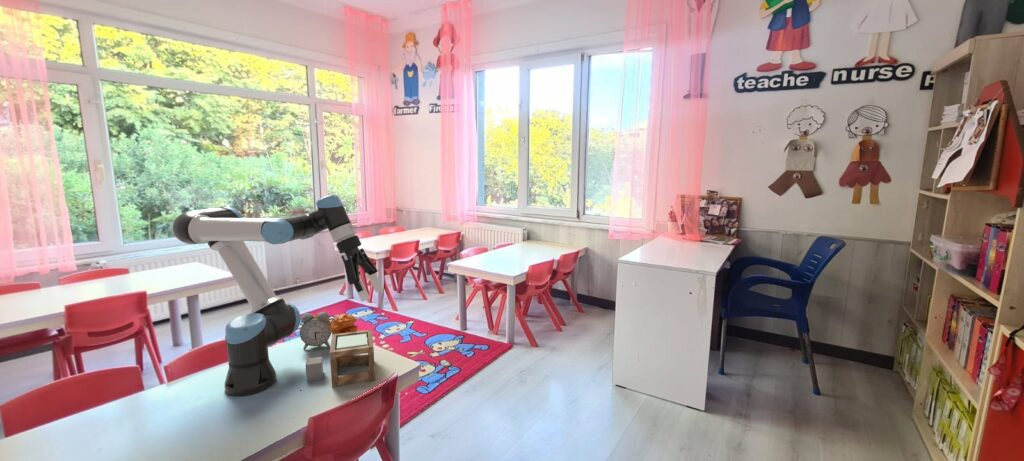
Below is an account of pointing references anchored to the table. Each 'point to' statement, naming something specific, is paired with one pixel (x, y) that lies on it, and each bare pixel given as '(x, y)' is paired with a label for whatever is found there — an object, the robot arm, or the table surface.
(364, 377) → the frame
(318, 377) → the grey block
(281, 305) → the robot arm
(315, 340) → the alarm clock
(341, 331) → the orange sculpture
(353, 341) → the hatch
